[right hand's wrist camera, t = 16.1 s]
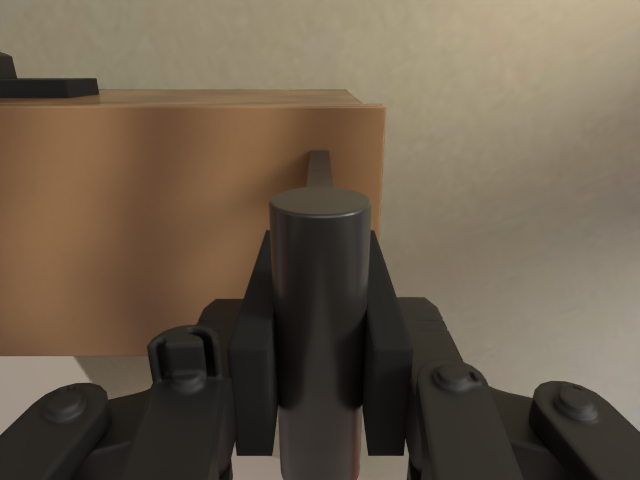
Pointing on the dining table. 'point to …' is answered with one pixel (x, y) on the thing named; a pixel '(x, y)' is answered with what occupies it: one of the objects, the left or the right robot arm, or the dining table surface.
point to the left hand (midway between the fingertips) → (105, 202)
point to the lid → (198, 241)
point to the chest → (200, 97)
